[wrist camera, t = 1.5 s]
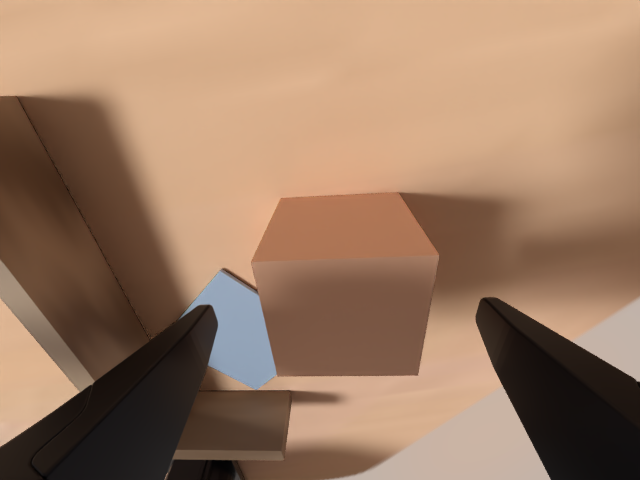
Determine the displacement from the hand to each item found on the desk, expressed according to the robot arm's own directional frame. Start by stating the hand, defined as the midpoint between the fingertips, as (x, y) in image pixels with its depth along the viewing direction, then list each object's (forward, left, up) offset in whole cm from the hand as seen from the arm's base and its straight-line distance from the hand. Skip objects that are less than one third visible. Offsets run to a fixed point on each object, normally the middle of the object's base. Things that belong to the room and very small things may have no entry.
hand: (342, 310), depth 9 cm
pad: (-6, +6, -4) cm, 9 cm away
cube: (0, 0, -4) cm, 4 cm away
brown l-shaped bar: (-2, +9, -4) cm, 10 cm away
